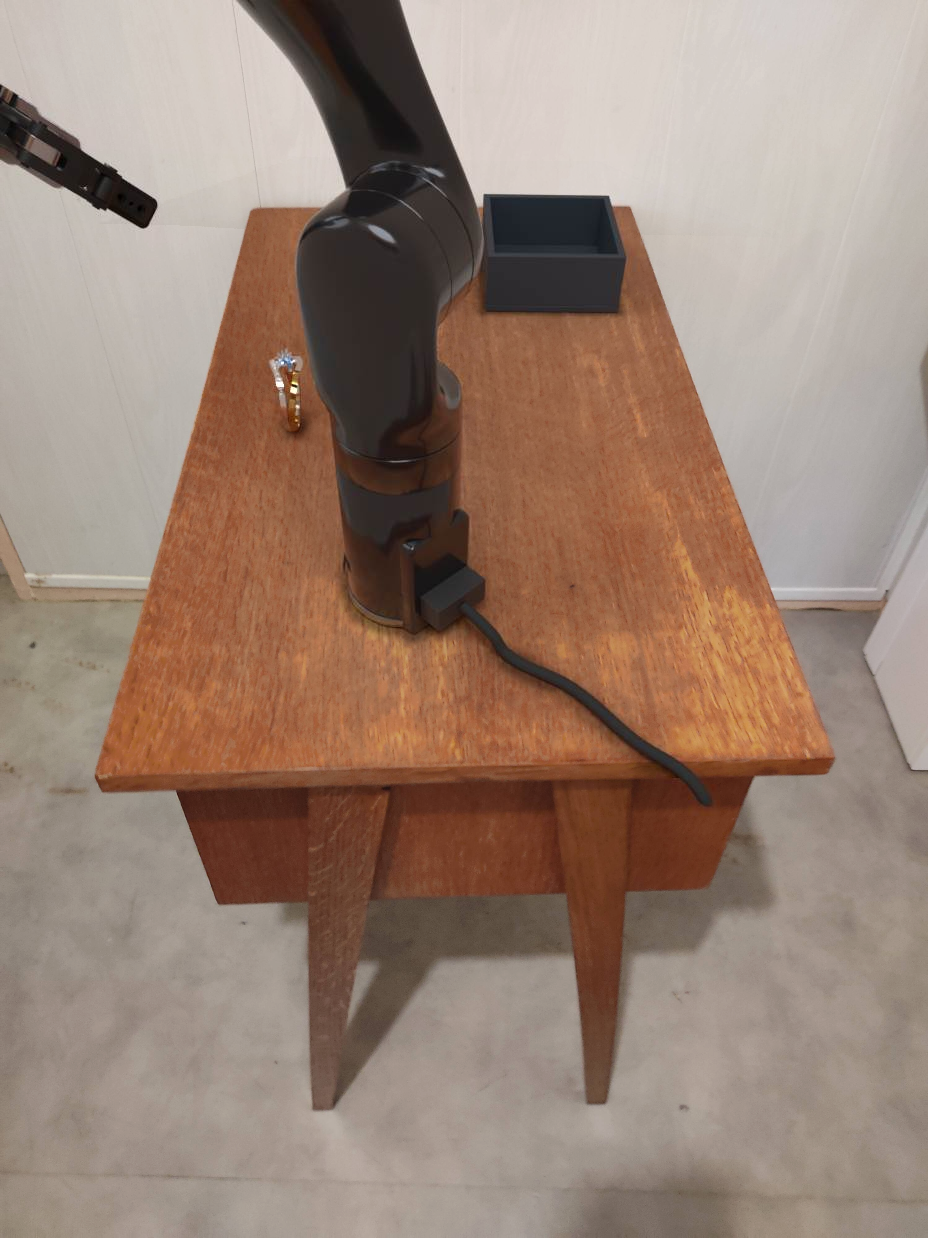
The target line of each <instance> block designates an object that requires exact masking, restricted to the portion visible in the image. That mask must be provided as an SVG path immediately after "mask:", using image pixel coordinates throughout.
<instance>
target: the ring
mask: <svg viewBox="0 0 928 1238" xmlns="http://www.w3.org/2000/svg"><path fill="white" fill-rule="evenodd" d="M276 355H277V356H275V357H273V358H271V359H269V361H268V363H269V367H270V369H271V371H272V374H273V376H274V379H275V384H276V388H277V393H278V398H279V399H278V400H279V406H280V411H281V416H282V417H281V418H282V422H283V426H284V428H285V430H286V431H290V432H297V431H298V429H299V427H300V426H301V412H302V391H301V390H302V388H301V378H300V376H301V375H300V373H301V370H302V368H303V366H304V361H303V358H302V356H300V355H299V354H294V353H293V351H290V348H288V347H287V348H285V349H284V350H283V349H282V350H280V352H277V353H276ZM280 369H282V370H283V374H284V375H285V376H286V379H287V380H288V385H289V389H290V395H289V402H288V397H287V391H286V386H285V383H284V379H283V376H282V374H281V371H280ZM288 403H289V404H288Z"/></svg>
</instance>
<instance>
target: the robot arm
mask: <svg viewBox="0 0 928 1238" xmlns="http://www.w3.org/2000/svg"><path fill="white" fill-rule="evenodd" d="M235 2H236V3H237V4H238V5H239V6H240V8H242V10H243V11H244V12H245V13H246V14H247V15H248V16H249V17H250V18H251V19H252V21H253V22H254V23H255V24H256V25H257V26H258V27H259V28H260V30H262V31H263V33H264V34H265V35H266V36H267V37H268V38H269V40H271V42H273V44H274V45H275V46H276V47H277V49H279V51H280V52H281V54H283V56H284V57H285V58H286V60H287V61H288V62H289V63H290V64H291V66H292V67H293V69H294V70H295V72H296V73H297V75H298V76H299V78H300V79H301V81H302V82H303V84H304V86H305V88H306V90H307V91H308V93H309V95H310V96H311V99H312V101H313V103H314V105H315V107H316V109H317V111H318V114H319V117H320V119H321V121H322V124H323V126H324V129H325V131H326V133H327V136H328V139H329V141H330V144H331V146H332V149H333V151H334V154H335V157H336V161H337V163H338V166H339V169H340V172H341V176H342V179H343V183H344V188H345V190H343V191H342V192H341V193H340V194H338V195H337V196H335V198H333V199H332V200H331V201H330V202H327V204H326V205H325V206H324V207H322V208H321V209H320V210H319V211H317V212H316V213H315V214H314V215H313V216H312V217H311V218H310V219H309V220H308V221H307V222H306V223H305V225H304V227H303V229H302V230H301V233H300V234H299V238H298V241H297V245H296V251H295V262H294V276H295V277H294V279H295V288H296V295H297V296H296V297H297V302H298V307H299V308H298V309H299V313H300V321H301V326H302V330H303V336H304V340H305V346H306V352H307V356H308V362H309V367H310V372H311V378H312V382H313V384H314V387H315V390H316V392H317V394H318V396H319V398H320V400H321V402H322V404H323V405H324V407H325V409H326V411H327V413H328V416H329V422H330V423H329V424H330V433H331V442H332V450H333V460H334V468H335V476H336V484H337V485H336V486H337V495H338V502H339V503H338V504H339V511H340V512H339V513H340V520H341V529H342V536H343V547H344V553H343V560H342V561H343V562H342V571H343V575H345V574H346V569H347V590H348V595H349V598H350V601H351V603H352V604H353V606H354V607H355V609H356V610H357V611H358V612H359V613H360V614H361V615H363V616H364V617H366V618H367V619H368V620H370V621H373V622H375V623H377V624H380V625H383V626H386V627H393V628H403V629H405V630H406V631H407V632H409V634H412V635H414V634H417V633H418V632H419V631H421V630H423V629H424V628H425V627H427V626H428V625H431V626H432V627H433V628H434V629H435V630H436V631H437V632H441V631H442V630H444V629H445V628H446V627H448V626H449V625H450V624H452V623H453V622H455V621H456V620H458V619H459V618H460V617H461V616H464V617H465V618H466V619H468V620H469V621H470V623H472V624H473V625H474V626H475V628H477V629H478V630H479V631H480V632H481V633H482V634H483V635H484V636H485V637H486V638H487V639H488V640H489V642H490V644H491V645H492V647H493V648H494V650H495V652H496V654H497V655H498V656H499V657H500V658H502V659H503V660H504V661H505V662H506V663H508V664H509V665H511V666H512V667H514V668H516V669H517V670H519V671H521V672H524V673H526V674H528V675H529V676H532V677H534V678H537V679H539V680H541V681H544V682H547V683H548V684H551V685H553V686H555V687H558V688H559V689H561V690H563V691H565V692H566V693H567V694H568V695H570V696H572V697H573V698H574V699H576V700H578V701H579V702H580V703H581V704H582V705H584V706H585V707H586V708H587V709H589V711H591V712H592V713H593V714H594V715H595V716H596V717H597V718H599V720H601V722H603V723H604V724H605V725H606V726H607V728H609V729H610V730H611V731H612V732H613V733H615V734H616V735H617V736H618V737H619V738H620V739H622V740H623V741H624V742H626V743H627V744H628V746H630V747H632V748H633V749H634V750H636V751H637V752H639V753H640V754H641V755H643V756H645V757H646V758H648V759H650V760H652V761H653V762H655V763H656V764H658V765H660V766H661V767H663V768H665V769H666V770H668V771H670V772H671V773H672V774H674V775H675V776H676V777H678V778H679V779H680V780H681V781H682V782H683V783H684V784H685V785H686V786H687V787H688V788H689V790H690V791H691V792H692V794H693V795H694V797H695V799H696V800H697V802H698V803H699V804H700V805H701V806H703V807H705V808H708V807H709V808H710V807H712V805H714V804H713V803H714V802H713V798H712V796H711V795H710V792H709V790H708V789H707V788H706V786H705V785H704V783H703V782H702V780H701V779H700V778H699V777H698V776H697V775H696V774H695V773H694V772H693V770H691V769H690V768H689V767H688V766H687V765H685V764H684V763H683V762H681V761H680V760H678V759H677V758H676V757H673V756H672V755H670V754H668V753H667V752H666V751H664V750H662V749H660V748H659V747H657V746H655V745H653V744H652V743H650V742H648V741H647V740H646V739H644V738H642V737H641V736H640V735H638V734H637V733H636V732H634V731H633V730H632V729H631V728H630V727H629V726H628V725H626V724H625V723H624V722H623V721H621V719H619V718H618V717H617V716H616V715H615V714H614V713H613V712H612V711H611V710H610V709H608V708H607V707H606V706H605V705H604V704H603V703H602V702H601V701H600V700H598V698H596V697H595V696H594V695H592V694H591V693H590V692H588V690H586V689H584V688H583V686H581V685H579V684H578V683H576V682H574V681H573V680H571V679H570V678H568V677H566V676H564V675H562V674H560V673H558V672H556V671H553V670H551V669H549V668H547V667H544V666H541V665H539V664H536V663H534V662H531V661H530V660H528V659H526V658H523V657H522V656H520V655H518V653H516V652H514V651H513V650H512V649H511V648H510V647H508V645H507V644H506V643H505V641H504V639H503V637H502V635H501V634H500V633H499V632H498V630H497V629H496V628H495V627H494V626H493V624H491V622H490V621H488V620H487V619H486V617H484V615H482V614H481V613H480V612H479V611H478V610H477V609H476V608H474V607H476V606H477V605H479V604H481V602H483V601H484V600H486V582H487V580H486V578H484V577H483V576H482V575H481V574H480V573H478V572H477V571H475V570H474V569H473V568H471V567H470V566H469V543H470V542H469V539H470V538H469V537H470V514H469V513H468V512H466V511H465V510H464V509H463V508H461V492H462V491H461V485H462V454H463V453H462V449H463V419H464V418H463V417H464V399H463V397H464V395H463V394H464V393H463V389H462V385H461V382H460V380H459V379H458V377H457V376H456V374H455V373H454V371H453V370H451V369H450V367H448V366H447V365H446V364H444V363H443V362H441V361H440V360H438V336H439V335H438V334H439V333H438V332H439V327H440V326H441V325H442V324H443V322H445V320H446V319H447V318H448V317H449V316H450V315H451V314H452V313H453V311H454V310H455V309H456V308H457V307H458V306H459V305H460V304H461V303H462V302H463V300H464V299H465V298H466V296H467V295H468V294H469V293H470V291H471V290H472V289H473V287H474V286H475V284H476V282H477V280H478V278H479V276H480V273H481V270H482V269H483V259H484V232H483V227H482V218H481V214H480V211H479V207H478V204H477V202H476V198H475V195H474V193H473V190H472V187H471V185H470V182H469V179H468V177H467V174H466V172H465V169H464V167H463V164H462V162H461V159H460V157H459V155H458V152H457V150H456V146H455V145H454V142H453V140H452V137H451V134H450V132H449V129H448V128H447V126H446V123H445V120H444V118H443V116H442V113H441V111H440V108H439V106H438V103H437V101H436V99H435V96H434V94H433V91H432V89H431V86H430V84H429V82H428V79H427V76H426V74H425V71H424V68H423V66H422V63H421V60H420V58H419V54H418V52H417V50H416V47H415V44H414V41H413V38H412V35H411V32H410V28H409V25H408V22H407V19H406V16H405V13H404V9H403V7H402V2H401V0H235ZM0 161H2V162H3V163H5V164H6V165H10V166H12V167H19V168H21V169H22V170H24V171H26V172H27V173H29V174H31V175H32V176H34V177H35V178H37V179H39V180H40V181H42V182H44V183H45V184H46V185H49V186H50V187H52V188H54V189H57V190H63V189H64V188H65V189H66V190H68V191H70V192H72V193H73V194H75V195H77V196H78V197H80V198H81V199H84V200H85V201H86V203H89V204H90V205H91V206H92V207H93V208H95V209H96V210H98V211H100V210H103V211H104V212H107V211H108V210H109V211H111V212H112V213H114V214H116V215H117V216H119V217H121V218H122V219H124V220H126V221H127V222H129V223H131V224H132V225H134V226H136V227H138V228H140V229H143V230H144V229H147V228H148V227H149V225H150V224H151V221H152V219H153V218H154V216H155V213H156V212H157V209H158V206H159V205H158V201H157V199H156V198H154V197H153V196H151V195H149V194H148V193H147V192H145V191H143V190H142V189H140V188H139V187H138V186H136V185H134V184H132V183H131V182H129V181H127V179H124V178H123V176H122V175H121V174H119V173H118V172H119V170H117V169H116V168H114V167H113V166H111V165H110V164H108V163H107V162H104V163H103V162H101V161H99V160H98V159H96V158H95V157H93V156H91V155H90V154H88V153H87V152H85V149H84V144H83V142H82V141H81V140H80V138H78V137H77V136H75V135H74V134H72V133H70V132H69V131H67V130H66V129H64V128H62V127H61V126H59V124H56V123H55V122H54V121H52V120H50V119H49V118H47V117H45V116H44V115H43V114H42V112H41V110H40V109H39V108H38V107H37V106H36V105H35V104H33V103H31V102H30V101H28V100H27V99H25V98H24V97H23V96H20V95H19V94H17V93H16V92H15V91H13V90H11V89H10V88H8V87H6V86H5V85H3V84H2V83H0Z"/></svg>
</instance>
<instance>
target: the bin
mask: <svg viewBox="0 0 928 1238" xmlns="http://www.w3.org/2000/svg"><path fill="white" fill-rule="evenodd" d="M481 222H482V227H483V232H484V259H483V264H482V277H483V293H484V308H485V312H510V313H511V312H515V313H517V312H519V313H520V312H521V313H523V312H524V313H525V312H526V313H528V312H529V313H530V312H531V313H614V314H615V313H618V312H619V304H620V299H621V293H622V287H623V282H624V281H623V280H624V275H625V269H626V263H627V254H626V250H625V247H624V244H623V239H622V236H621V233H620V230H619V226H618V222H617V219H616V214H615V212H614V208H613V205H612V201H611V198H610V195H603V194H602V195H601V194H600V195H598V194H597V195H596V194H595V195H594V194H591V195H590V194H527V193H526V194H525V193H524V194H521V193H520V194H518V193H516V194H515V193H483V194H482V218H481Z"/></svg>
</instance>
